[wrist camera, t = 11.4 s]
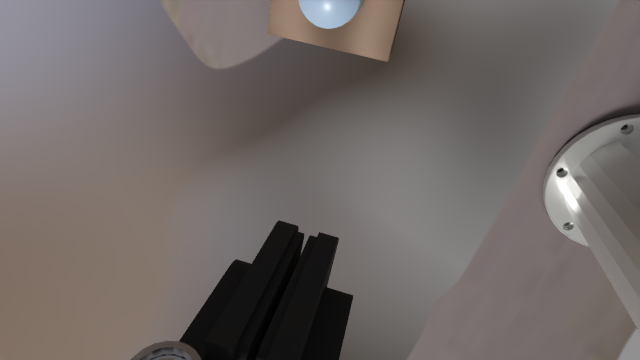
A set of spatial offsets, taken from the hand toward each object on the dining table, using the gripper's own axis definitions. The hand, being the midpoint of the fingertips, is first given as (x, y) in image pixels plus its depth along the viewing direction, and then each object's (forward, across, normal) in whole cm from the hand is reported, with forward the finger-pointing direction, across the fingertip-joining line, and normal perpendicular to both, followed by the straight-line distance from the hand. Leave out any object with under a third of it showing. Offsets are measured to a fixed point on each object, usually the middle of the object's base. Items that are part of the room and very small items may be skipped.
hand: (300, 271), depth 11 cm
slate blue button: (+23, +5, -5) cm, 24 cm away
